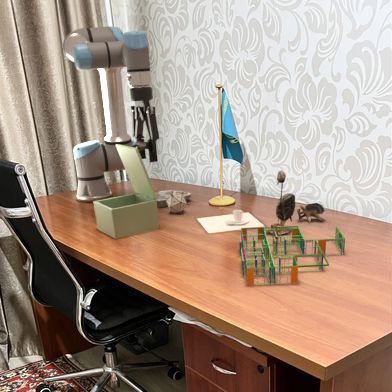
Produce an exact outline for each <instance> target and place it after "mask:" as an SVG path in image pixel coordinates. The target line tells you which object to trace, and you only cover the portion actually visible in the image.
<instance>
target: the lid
mask: <svg viewBox="0 0 392 392" xmlns="http://www.w3.org/2000/svg"><path fill="white" fill-rule="evenodd" d="M134 142H135V145H133V146H131V147H129V146H124V145H120V144H116V145H115V146H116V148H117V151H118V153H119V155H120V158H121V160H122V162H123V165H124V167H125V170H124V171H125V172H126V175H127V176H128V179H129V181H130V184H131V186H132V189H133V192H134V193H137V194H140V195H143V196H147V197H150V198H153V199H157V196H156V193H157V192H155V188H154V186H153V183H152V181H151V178H150V176H149V174H148V171H147V168H146V166H145V163H144V161H143V160H144V159H142V158H141V155H140V153H139V152H140V151H142V150H144V149H145V150H148V142H147V141H145V140H144V141H139V140H138V141H136V140H135V141H134ZM135 147H136V148H135ZM137 147H139V148H140V149H138V148H137Z"/></svg>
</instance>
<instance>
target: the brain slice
mask: <svg viewBox="0 0 392 392" xmlns="http://www.w3.org/2000/svg"><path fill="white" fill-rule="evenodd" d="M172 191H173V193H182V192H184V193H183V196H184V198H185V200H186V202H187V203H188V201H189V200H190V199H191V196H192V193H191V192H189V191H186V190H160V191H158V192H155V193H156V196H157V199H154V200H157V208H165V207H167V208H169V207H168V205H167V203H166V202H164V200H165V201H166V200H167V199H168V198H169V197H170V195H171V194H172ZM146 197H147V196H146ZM148 198H150V197H148ZM151 199H153V198H151Z"/></svg>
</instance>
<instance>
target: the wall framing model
mask: <svg viewBox="0 0 392 392" xmlns="http://www.w3.org/2000/svg"><path fill="white" fill-rule="evenodd" d="M270 228H281V229H273V230H267V229H270ZM282 228H285V229H282ZM248 230H257V233H256V234H255V233H253V234H252V235H249V234H248ZM266 230H267V232H265V231H266ZM278 230H280V235H278ZM282 230H283V231H289V232H290V231H291V238H288V237H289V235H282V234H281V233H282ZM270 232H273V233H272V245H273V246H274V249H272V251H273V254H274V255H272V251H271V247H270V243H269V241H268V236H267V233H270ZM256 236H257V239H256V238H255V237H256ZM238 238H239V241H238V242H239V256H240V259H241V260H240V263H241V272H242V277H245V279H246V284H247V286H255V285H256V286H257V285H261V283H258V281H259V280H258V279H259V277H255V276H258V275H260V276H264V277H263V281H264V282H263V285H266V279H268V281H269V283H268V284H269V285H278V284H282V282H279V280H278V279H282V276H281V275H284V274H288V273H290V276H286V280H287V281H286V284H289V282H288V280H289V278H290V284H297V283H298V280H299V277H298V276H299V268H315V267H317V268H319V269H318V271H324V270H323V269H324V267H330V263H329V262H328V259H327V257H326V256H327V254H326V250H327V242H334V243H335V244H336V245H337V248H338V249H339V250H340V254H339V253H338V254H337V256H343V255H345V245H346V237H345V236H344V234H343V233H342V232H341V230H340V229H339V228H338V226H335V234H334V238H323V239H322V238H321V239H305V238H304V236H303V234H302V232H301V230H300V228H299V226H298V225H288V226H284V227H271V226H270V227H251V228H241V230H240V235H239V237H238ZM248 238H252V239H248ZM282 238H283V240H282ZM257 242H258V243H261V244H262V245H261V246H257V247H256V243H257ZM249 243H252V244H249ZM308 243H311V250H314V251H313V252H314V253H309V254H307V253H305V251H306V244H308ZM291 244H292V245H293V246H295V245H294V244H297V246H295V248H296V249H291ZM278 245H279V246H278ZM287 245H288V248H287ZM248 246H249V247H248ZM298 247H299V248H298ZM256 249H257V250H260V251H256ZM278 249H280V253H279V250H278ZM247 250H249V251H250V252H248V254H247V252H246V251H247ZM252 250H253V251H252ZM296 250H300V251H301V253H298V254H292V256H288V255H290V252H293V251H296ZM282 252H284V253H282ZM287 252H288V253H287ZM276 253H277V254H276ZM250 257H254V259H253V258H251V259H250ZM310 257H313V258H314V257H315V259H316V262H317V264H304V265H298V258H310ZM266 258H267V259H266ZM276 258H278V263H275V261H274V259H276ZM289 259H292V262H291V263H290V262H288V265H286V261H287V260H288V261H289ZM282 261H284V263H282ZM324 261H325V263H324ZM249 262H250V266H248V265H249ZM266 263H268V266H266ZM258 264H261V265H260V266H258ZM285 269H288V270H285ZM282 270H283V272H282ZM259 271H260V272H259ZM311 271H312V272H314V271H315V272H316V271H317V269H310V270H306V272H311ZM258 272H259V273H258ZM255 273H256V274H255ZM278 277H279V278H278ZM255 279H256V283H255ZM276 279H277V281H276ZM272 281H273V282H272Z"/></svg>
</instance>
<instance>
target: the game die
mask: <svg viewBox="0 0 392 392" xmlns="http://www.w3.org/2000/svg"><path fill="white" fill-rule="evenodd" d="M171 191H172V194H171V195H170V197H169V198H168V199H167V200H166V201H165V200H164V202H166V203H167V205H168V207H167V208H168V209H169V214H171V213H179V215H182V211H183V210H184V209H185V207H186V206H189V205H190V203H188V201H187V202H186V200H185V198H184V196H183V193H184V192H182V193H173V191H174V190H171Z"/></svg>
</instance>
